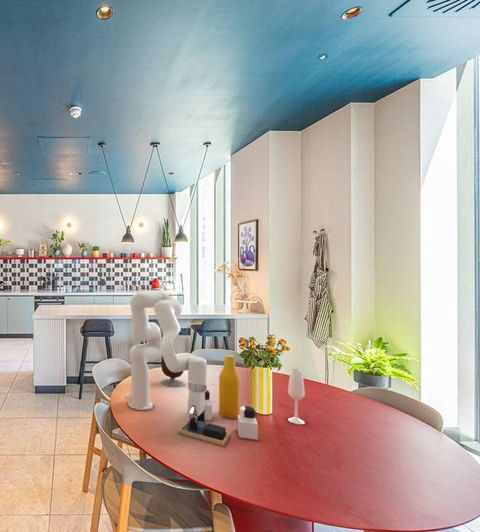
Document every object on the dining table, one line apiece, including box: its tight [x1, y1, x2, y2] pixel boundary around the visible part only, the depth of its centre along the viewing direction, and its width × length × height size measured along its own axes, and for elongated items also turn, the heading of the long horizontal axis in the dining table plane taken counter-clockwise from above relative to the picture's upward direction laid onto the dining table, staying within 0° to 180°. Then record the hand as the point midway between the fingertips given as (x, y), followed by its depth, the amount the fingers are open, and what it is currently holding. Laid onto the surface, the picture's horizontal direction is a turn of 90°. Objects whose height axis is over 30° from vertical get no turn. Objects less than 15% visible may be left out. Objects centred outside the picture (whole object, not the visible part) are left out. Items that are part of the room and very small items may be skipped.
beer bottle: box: [218, 354, 241, 420], centre depth 168 cm, size 9×9×29 cm
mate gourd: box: [160, 355, 184, 388], centre depth 212 cm, size 16×14×20 cm
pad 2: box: [205, 422, 227, 441], centre depth 145 cm, size 7×6×4 cm
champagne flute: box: [287, 368, 306, 425], centre depth 162 cm, size 7×7×24 cm
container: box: [194, 389, 213, 421], centre depth 165 cm, size 8×8×13 cm
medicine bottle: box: [236, 405, 259, 441], centre depth 147 cm, size 7×7×12 cm
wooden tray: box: [178, 420, 230, 447], centre depth 147 cm, size 18×10×2 cm, turn 54°
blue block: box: [187, 419, 208, 436], centre depth 149 cm, size 7×6×4 cm
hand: (197, 425), depth 149 cm, fingers open, 9 cm apart
